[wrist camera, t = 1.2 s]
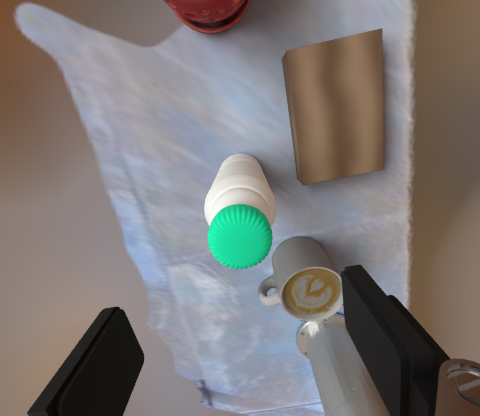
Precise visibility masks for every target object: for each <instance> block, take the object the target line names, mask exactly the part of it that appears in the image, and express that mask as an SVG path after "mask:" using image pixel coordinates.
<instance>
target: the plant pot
mask: <svg viewBox="0 0 480 416" xmlns="http://www.w3.org/2000/svg"><path fill="white" fill-rule="evenodd" d="M164 1H165V2H166V3H167V4H168V5H169V6H170V7H171V8H172V10H173V11H174V13H175V14H176V15H177V17H178V18H179V19H180V20H181V21H182V22H183V23H184V24H186V25H187V26H188V27H190V28H192V29H194V30H196V31H198V32H201V33H207V34H213V33H219V32H222V31H225V30H227V29H229V28H231V27H232V26H234V25H235V24H236V23H237V22H238V21H239V20H240V19H241V18H242V17H243V15H244V14H245V12H246V11H247V9H248V7H249V5H250V2H251V0H164Z"/></svg>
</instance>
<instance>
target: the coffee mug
mask: <svg viewBox="0 0 480 416" xmlns="http://www.w3.org/2000/svg"><path fill="white" fill-rule="evenodd" d="M272 266H273V269H274V274H273V275H272V276H270V277H269V278H267V279H266V280H264V281H263V282H262V283H261V284H260V286H259V289H258V295H259V298H260V300H261V302H262V303H263V304H264V305H265V306H275V305H278V304H281V305H282V307H283V309H284V310H285V311H286V312H287V313H288V314H289V315H290V316H291V317H293V318H295V319H298V320H301V321H307V322H314V321H320V320H323V319H326V318H328V317H330V316H332V315H333V314H335V313H336V312H337V311H338V310H339V309H340V308H341V306H342V305H343V294H342V281H341V275H340V274H339V272H338V271H337V269H336V268H335V266H334V265H333V263H332V262H331V260H330V259H329V257H328V256H327V254H326V253H325V251H324V250H323V248H322V247H321V245H320V244H319V243H318V242H317V241H315V240H313V239H311V238H308V237H303V236H298V237H292V238H289V239H287V240H285V241H283V242H282V243H281V244H280V245H279V246H278V247H277V248H276V249H275V251H274V253H273V256H272ZM271 288H276V292H275V293H274V294H272V295H270V296H267V291H268V290H269V289H271Z"/></svg>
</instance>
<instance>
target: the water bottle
mask: <svg viewBox="0 0 480 416" xmlns="http://www.w3.org/2000/svg"><path fill="white" fill-rule="evenodd" d="M205 216H206V220H207V222H208V224H209V226H210V227H209V232H208V243H209V248H210V250H211V252H212V253H213V256H214V257H216V259H217V260H218V261H220V263H221V264H224V265H225V266H229V267H230V268H235V269H238V268H239V269H243V268H248V267H252V266H253V265H257V263H261V261H262V260H264V259H265V256H267V255H268V252H269V251H270V248H271V245H272V230H271V226H272V224H273V222H274V219H275V216H276V201H275V197H274V195H273V192H272V191H271V189H270V187H269V184H268V182H267V180H266V178H265V176H264V173H263V171H262V168H261V166H260V164H259V163H258V161H257V160H256V159H255V158H253V157H252V156H250V155H248V154H243V153H238V154H234V155H231V156H229V157H228V158H227V159H226V160H225V161H224V162H223V163H222V165H221V167H220V170H219V172H218V174H217V176H216V178H215V180H214V182H213V184H212V187H211V189H210V190H209V192H208V194H207V197H206V200H205Z"/></svg>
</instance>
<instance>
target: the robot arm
mask: <svg viewBox="0 0 480 416" xmlns="http://www.w3.org/2000/svg"><path fill="white" fill-rule="evenodd" d="M341 281H342V294H343V307H344V315H341V314H338V313H335V314H333V315H332V316H330V317H328V318H326V319H323V320H320V321H314V322H307V321H305V322H304V323H303V324H302V325H301V326H300V328H299V329H298V332H297V335H296V341H297V345H298V348H299V350H300V352H301V353H302V354H303V355H304V356H305V357H307V358H308V359H309V360H310V364H311V367H312V371H313V374H314V378H315V381H316V384H317V388H318V391H319V395H320V398H321V402H322V405H323V409H324V412H325V416H480V364H479V363H476V362H473V361H470V360H466V359H450V358H449V357H448V355H447V354H446V353H445V352H444V351H443V350H442V349H441V347H440V346H439V345H438V344H437V343H436V342H435V341H434V340H433V338H432V337H431V336H430V335H429V334H428V333H427V332H426V331H425V329H424V328H423V327H422V326H421V325H420V324H419V323H418V322H417V320H416V319H415V318H414V317H413V316H412V315H411V314H410V313H409V311H408V310H407V309H406V308H405V307H404V306H403V305H402V304H401V302H400V301H399V300H398V299H397V298H396V297H395V296H393V295H388V296H387V295H386V294H385V293H384V292H383V291H382V289H381V288H380V287H379V286H378V285H377V284H376V282H375V281H374V280H373V279H372V278H371V276H370V275H369V274H368V273H367V272H366V270H365V269H364V268H363V267H362V266H361V265H355V266H349V267H346V268H345V271H342V272H341ZM143 363H144V353H143V351H142V349H141V347H140V345H139V343H138V340H137V338H136V336H135V334H134V331H133V329H132V327H131V325H130V323H129V321H128V318H127V316H126V314H125V312H124V310H122V309H120V308H119V307H111V308H105V309H103V310H102V311H101V312H100V314H99V315H98V316H97V318H96V319H95V320H94V322H93V323H92V325H91V326H90V327H89V329H88V330H87V331H86V333H85V334H84V335H83V337H82V338H81V340H80V341H79V342H78V344H77V345H76V346H75V348H74V349H73V351H72V352H71V353H70V355H69V356H68V357H67V359H66V360H65V361H64V363H63V364H62V366H61V367H60V368H59V370H58V371H57V372H56V374H55V375H54V377H53V378H52V379H51V381H50V382H49V384H48V385H47V386H46V388H45V389H44V390H43V392H42V393H41V394H40V396H39V397H38V399H37V400H36V401H35V403H34V404H33V405H32V407H31V408H30V409H29V411H28V412H27V414H28V415H29V416H123V413H124V411H125V408H126V406H127V403H128V401H129V398H130V396H131V393H132V391H133V388H134V386H135V383H136V381H137V378H138V376H139V373H140V371H141V368H142V366H143Z"/></svg>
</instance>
